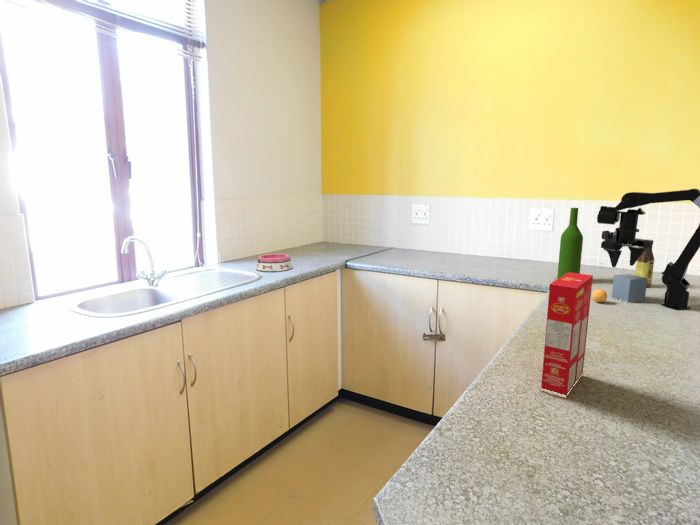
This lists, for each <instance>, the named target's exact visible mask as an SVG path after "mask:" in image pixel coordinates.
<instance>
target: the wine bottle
mask: <svg viewBox="0 0 700 525" xmlns="http://www.w3.org/2000/svg"><path fill="white" fill-rule="evenodd" d="M569 215H570V216H569V222H568V226H567V227H566V228H565V230H564V231H563V232H562V234H561V236H560V242H559V253H558V265H557V276H556V280H557V279H559V278H560V277H562V276H564V275H565V274H567V273H568V272H570V273H578V274H581V266H582V264H581V263H582V255H583V243H584V237H583V234H582V232H581V230H580V228H579V226H578V216H579V207H571V208H570V214H569Z"/></svg>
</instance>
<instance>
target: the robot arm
mask: <svg viewBox="0 0 700 525" xmlns="http://www.w3.org/2000/svg"><path fill="white" fill-rule="evenodd" d="M681 201H682V202H684V201H690V202H692V203H693V204H695V206H697V207H698V208H699V209H700V189H699V188H689V189H682V190H672V191H663V192H641V191H631V192H627V193H624V195H623V196H622V197H621V199H620V202H619V203H618V204H616V206H606V205H601V206H600V207H599V208H600V209H599V210H598V214H597V218H596V220H597V221H596V222H597V224H601V225H602V224H604V225H613V226H614V225H616V223H619V226H618V227H616V228H615V230H614V231H612V232H611V231H610V230H603V231H601V239H602V240H603V241H602V242H601V245H600V248H602V249H603V251H606V252H607V254H608V256H609V260H610V264H611V267H612V268H616V267H617V265H618V262H619V259H620V256H621V255H622V253H623V251H622V248H624V247H625V248H626V247H627V248H628V250H629V252H630V253H629V254H630V255H629V266H630V267H633V266H634V265H636V262H637V260H638V258H639V257H640V256H641V255H642V253H643V252H644V251H645V250H647V249H646V248H649V247H650V242H649V240H650V239H647V240H644V239H645V238H638V237H637V238H636V235H637V233H640V229H639V228H638V222H639V215H640V216H643V215H646V212H645V211H644V210H643V209H642V207H641V206H645V205H651V204H658V203H659V204H660V203H670V202H681ZM637 207H638V209H632V208H637ZM626 209H627V211H623V210H626ZM692 234H693V235H692V236H691V237H690V239H689V240H688V242H687V243H686V245H685V247H684V248H683V249H682V251H681V253H680V255H679V256H678V258H677V259H676V261H675V262H672V261H669V262H668V263H667V264H666V267H665V269H664V270H663V271H662V272H661V273H660V274H661V275H662V276H661V283H663V285H664V286H666V291H665V294H664V299H663V300H664V301H663V303H661V304H660V305H661V306H663V307H667V308H670V309H672V310H676V311H678V310H687V309H689V310H690V309H691V306H689V305H688V304H689V299H690V298H689V297H690V291H688V289H689V288H690V286H691V283H690V282H689V281H688V280H687V279H686V278H685V276H686V274H687V271H688V268H689V265H690V263H691V261H692V260H693V258H694V257H695V255H696V254H697V252H698V251H699V249H700V223H699V224H698V227H697V228H696V230H695V231H694V233H692Z"/></svg>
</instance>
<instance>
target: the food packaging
mask: <svg viewBox="0 0 700 525" xmlns="http://www.w3.org/2000/svg"><path fill="white" fill-rule="evenodd" d="M592 286H593V275H592V274H587V273H586V274H583V273H580V274H578V273H570V272H568V273H567V274H565V275H564V276H562V277H560V278H559V279H557V278H556V280H555V281H553V282H550V283H549V289H548V290H549V291H548V301H547V302H548V304H547V313H546V326H545V336H544V337H545V338H544V350H543V362H542V372H541V385H540V387H541V388H543V389H547V390H550V391H554V392H557V393H560V394H564V395H567V393H568V392H569V391H570V389H571V388H572V387H573V385H574V384H575V382H576V381H577V380H578V379H579V377H580V376H581V375H582V373H583V374H584V365H585V354H586V345H587V336H588V326H589V317H590V316H589V315H590V308H591V307H590V305H591V297H592V289H593V288H592ZM541 388H540V389H541Z"/></svg>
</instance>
